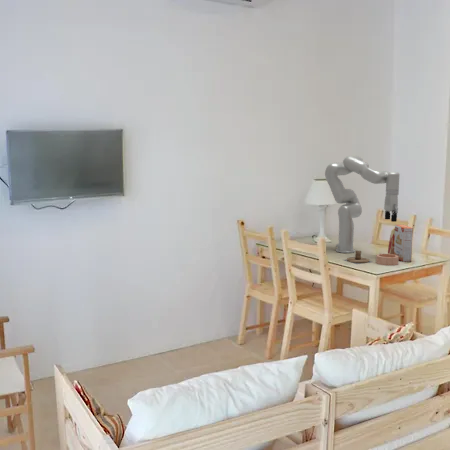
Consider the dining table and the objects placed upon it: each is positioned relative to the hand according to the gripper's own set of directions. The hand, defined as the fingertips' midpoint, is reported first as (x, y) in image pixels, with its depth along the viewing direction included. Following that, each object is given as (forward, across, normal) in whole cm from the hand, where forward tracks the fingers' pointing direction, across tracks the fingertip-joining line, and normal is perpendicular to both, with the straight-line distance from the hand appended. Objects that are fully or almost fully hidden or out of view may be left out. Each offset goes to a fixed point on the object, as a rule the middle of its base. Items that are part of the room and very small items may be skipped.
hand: (390, 220), depth 333 cm
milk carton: (+24, -12, +10) cm, 29 cm away
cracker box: (+25, 0, +9) cm, 26 cm away
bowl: (+24, +12, -6) cm, 28 cm away
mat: (+24, +5, -21) cm, 33 cm away
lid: (+24, +5, -21) cm, 33 cm away
